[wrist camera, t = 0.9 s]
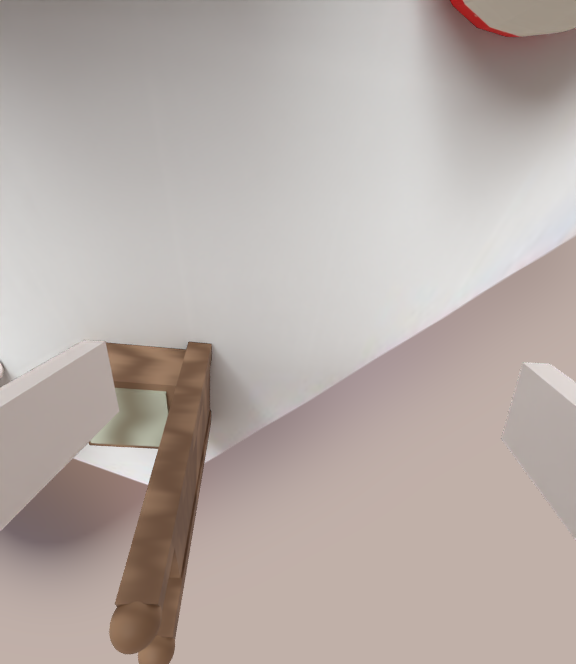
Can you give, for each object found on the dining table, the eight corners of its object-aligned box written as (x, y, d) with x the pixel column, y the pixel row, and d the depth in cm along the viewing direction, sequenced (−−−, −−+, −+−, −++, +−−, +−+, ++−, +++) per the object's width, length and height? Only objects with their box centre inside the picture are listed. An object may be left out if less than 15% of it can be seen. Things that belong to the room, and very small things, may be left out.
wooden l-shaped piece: (107, 415, 44) (-8, 679, 26) (79, 330, 35) (-134, 655, 17) (212, 422, 46) (171, 675, 28) (213, 342, 36) (152, 650, 18)
